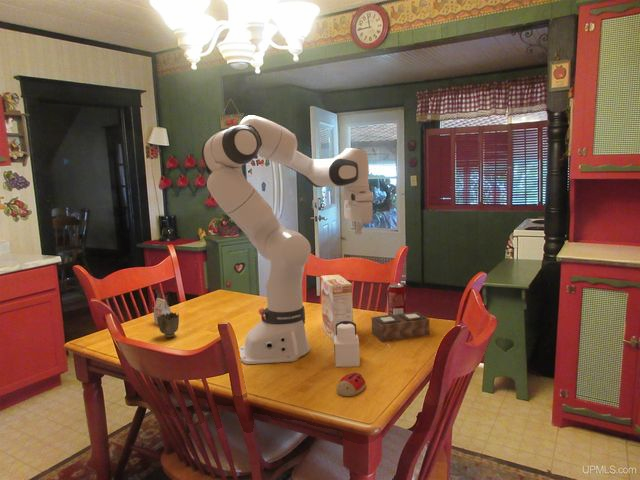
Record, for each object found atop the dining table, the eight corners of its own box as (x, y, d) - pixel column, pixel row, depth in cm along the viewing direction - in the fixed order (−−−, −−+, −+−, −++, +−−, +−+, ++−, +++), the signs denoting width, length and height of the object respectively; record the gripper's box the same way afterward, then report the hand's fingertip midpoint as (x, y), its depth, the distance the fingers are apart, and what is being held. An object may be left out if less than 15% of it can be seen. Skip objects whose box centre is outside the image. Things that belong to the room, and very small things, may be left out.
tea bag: (163, 321, 187) (161, 296, 186) (172, 325, 183) (170, 299, 181) (154, 323, 185) (152, 298, 183) (163, 327, 180) (160, 301, 179)
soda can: (405, 318, 179) (405, 287, 177) (387, 318, 180) (386, 287, 178) (405, 313, 185) (405, 282, 183) (388, 312, 187) (387, 282, 185)
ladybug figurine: (331, 395, 122) (330, 382, 121) (348, 379, 130) (347, 367, 130) (355, 400, 119) (354, 387, 118) (371, 384, 127) (370, 371, 127)
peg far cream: (409, 334, 161) (409, 318, 161) (404, 330, 165) (404, 314, 164) (420, 333, 162) (420, 316, 162) (415, 329, 166) (415, 313, 165)
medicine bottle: (334, 357, 145) (333, 319, 143) (358, 357, 145) (357, 318, 143) (334, 367, 138) (333, 327, 136) (359, 366, 138) (358, 326, 136)
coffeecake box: (322, 329, 171) (319, 275, 168) (341, 326, 173) (339, 273, 170) (333, 343, 157) (331, 285, 154) (354, 341, 158) (352, 283, 155)
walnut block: (381, 341, 156) (381, 324, 155) (371, 333, 165) (371, 316, 164) (429, 335, 160) (429, 318, 160) (417, 327, 169) (417, 310, 168)
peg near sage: (384, 338, 159) (384, 321, 158) (380, 334, 163) (379, 317, 162) (395, 336, 160) (395, 320, 159) (390, 332, 164) (390, 316, 163)
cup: (154, 337, 169) (152, 316, 168) (173, 332, 174) (171, 310, 173) (165, 342, 164) (163, 319, 163) (184, 336, 169) (182, 314, 168)
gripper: (339, 193, 177) (340, 231, 179) (357, 196, 157) (358, 238, 160) (355, 193, 179) (356, 229, 181) (375, 195, 159) (376, 236, 161)
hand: (357, 233), depth 170 cm, fingers closed
